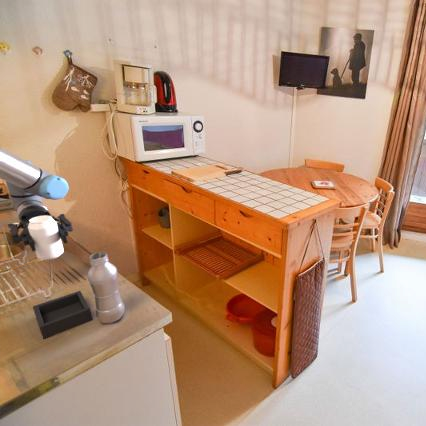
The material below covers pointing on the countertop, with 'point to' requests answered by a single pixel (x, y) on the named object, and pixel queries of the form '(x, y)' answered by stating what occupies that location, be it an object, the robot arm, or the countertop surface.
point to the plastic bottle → (105, 288)
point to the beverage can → (45, 237)
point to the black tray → (62, 314)
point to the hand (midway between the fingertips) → (49, 242)
